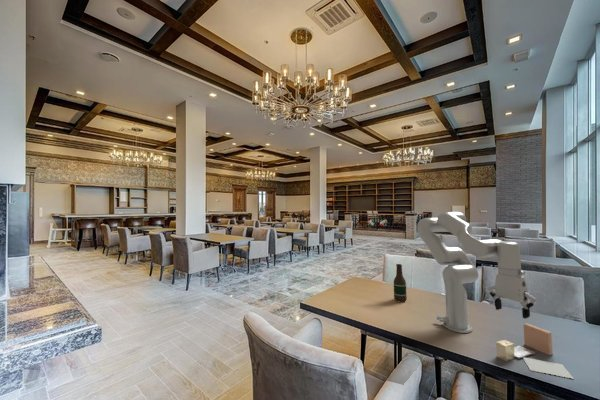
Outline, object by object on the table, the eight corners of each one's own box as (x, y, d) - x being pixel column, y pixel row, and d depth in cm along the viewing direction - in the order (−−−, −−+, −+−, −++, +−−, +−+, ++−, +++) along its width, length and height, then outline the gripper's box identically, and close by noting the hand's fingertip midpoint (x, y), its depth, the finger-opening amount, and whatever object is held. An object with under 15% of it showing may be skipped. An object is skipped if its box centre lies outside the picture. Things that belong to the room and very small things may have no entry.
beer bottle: (394, 302, 167) (392, 265, 168) (394, 298, 174) (392, 262, 175) (406, 303, 164) (405, 266, 165) (406, 299, 172) (405, 263, 172)
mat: (530, 370, 96) (530, 369, 96) (522, 357, 104) (522, 357, 104) (574, 379, 91) (574, 378, 91) (562, 365, 99) (562, 364, 99)
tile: (549, 355, 105) (548, 333, 105) (524, 344, 114) (523, 324, 114) (552, 354, 106) (551, 332, 106) (527, 343, 114) (526, 323, 115)
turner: (508, 362, 101) (508, 347, 101) (494, 355, 106) (493, 340, 107) (534, 354, 106) (533, 340, 106) (519, 347, 111) (518, 333, 111)
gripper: (540, 275, 100) (543, 319, 99) (492, 266, 115) (494, 304, 115) (530, 277, 97) (532, 323, 96) (481, 268, 112) (483, 307, 112)
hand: (511, 313), depth 105 cm, fingers open, 9 cm apart
